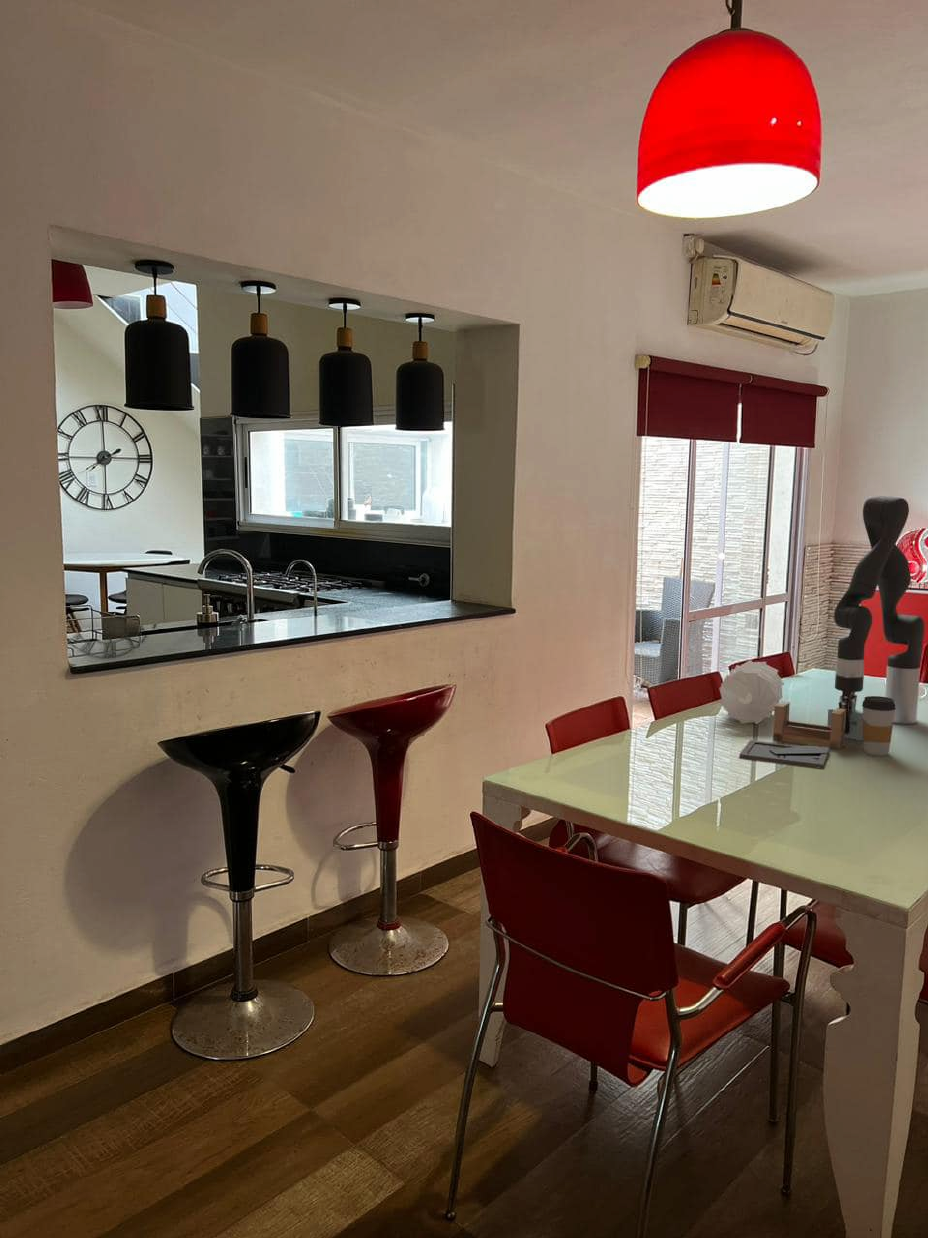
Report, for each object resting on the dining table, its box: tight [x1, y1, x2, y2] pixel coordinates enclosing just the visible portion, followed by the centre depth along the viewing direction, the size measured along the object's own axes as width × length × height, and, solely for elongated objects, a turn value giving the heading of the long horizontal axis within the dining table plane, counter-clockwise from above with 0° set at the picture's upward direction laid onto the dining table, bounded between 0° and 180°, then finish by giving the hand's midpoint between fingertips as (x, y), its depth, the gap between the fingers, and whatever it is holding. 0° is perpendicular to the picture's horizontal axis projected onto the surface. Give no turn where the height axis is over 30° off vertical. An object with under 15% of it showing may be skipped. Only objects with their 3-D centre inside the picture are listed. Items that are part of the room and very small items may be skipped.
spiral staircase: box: [719, 659, 785, 725], centre depth 285 cm, size 18×18×25 cm
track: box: [772, 700, 846, 750], centre depth 258 cm, size 7×18×10 cm, turn 56°
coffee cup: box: [861, 695, 896, 757], centre depth 246 cm, size 8×8×15 cm
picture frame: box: [738, 739, 830, 769], centre depth 245 cm, size 16×2×21 cm
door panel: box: [826, 706, 863, 741], centre depth 263 cm, size 4×10×8 cm, turn 56°
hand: (846, 731), depth 263 cm, fingers closed on door panel, 3 cm apart
